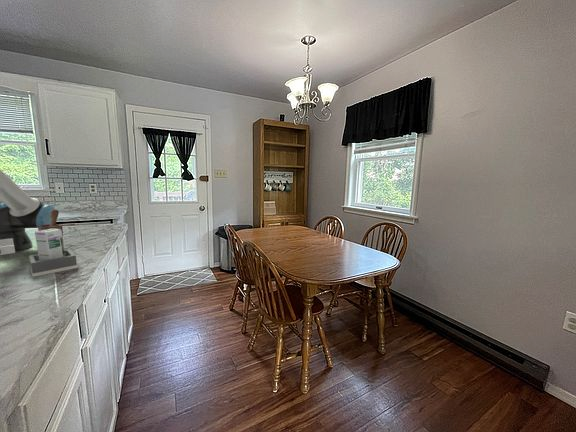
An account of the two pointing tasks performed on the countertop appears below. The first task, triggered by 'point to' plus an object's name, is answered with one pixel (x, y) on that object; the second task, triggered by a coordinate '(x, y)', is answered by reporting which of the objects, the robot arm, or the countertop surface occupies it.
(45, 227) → the mortar and pestle
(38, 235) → the syrup box
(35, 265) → the box
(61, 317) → the countertop surface
